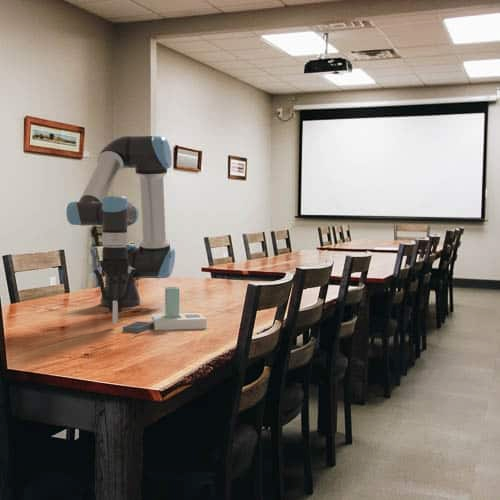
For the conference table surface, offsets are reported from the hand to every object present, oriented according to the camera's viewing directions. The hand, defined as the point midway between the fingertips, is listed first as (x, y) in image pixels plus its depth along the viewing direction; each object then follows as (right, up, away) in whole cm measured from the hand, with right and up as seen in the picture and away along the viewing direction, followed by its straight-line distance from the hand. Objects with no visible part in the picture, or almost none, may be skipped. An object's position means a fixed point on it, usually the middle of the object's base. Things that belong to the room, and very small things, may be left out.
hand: (115, 322), depth 202 cm
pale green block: (+17, -2, +5) cm, 18 cm away
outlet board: (+19, -2, +5) cm, 20 cm away
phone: (+7, -3, -1) cm, 8 cm away
